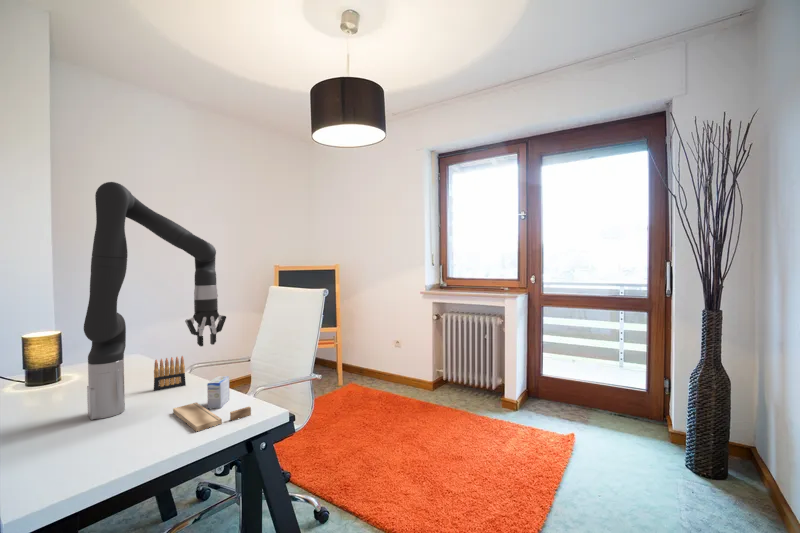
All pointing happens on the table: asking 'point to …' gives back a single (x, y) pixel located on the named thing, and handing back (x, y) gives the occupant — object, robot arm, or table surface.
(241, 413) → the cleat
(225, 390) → the medicine box
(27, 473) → the table surface
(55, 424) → the table surface
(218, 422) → the board
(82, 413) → the table surface
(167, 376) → the ammunition clip
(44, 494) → the table surface
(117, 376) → the robot arm
